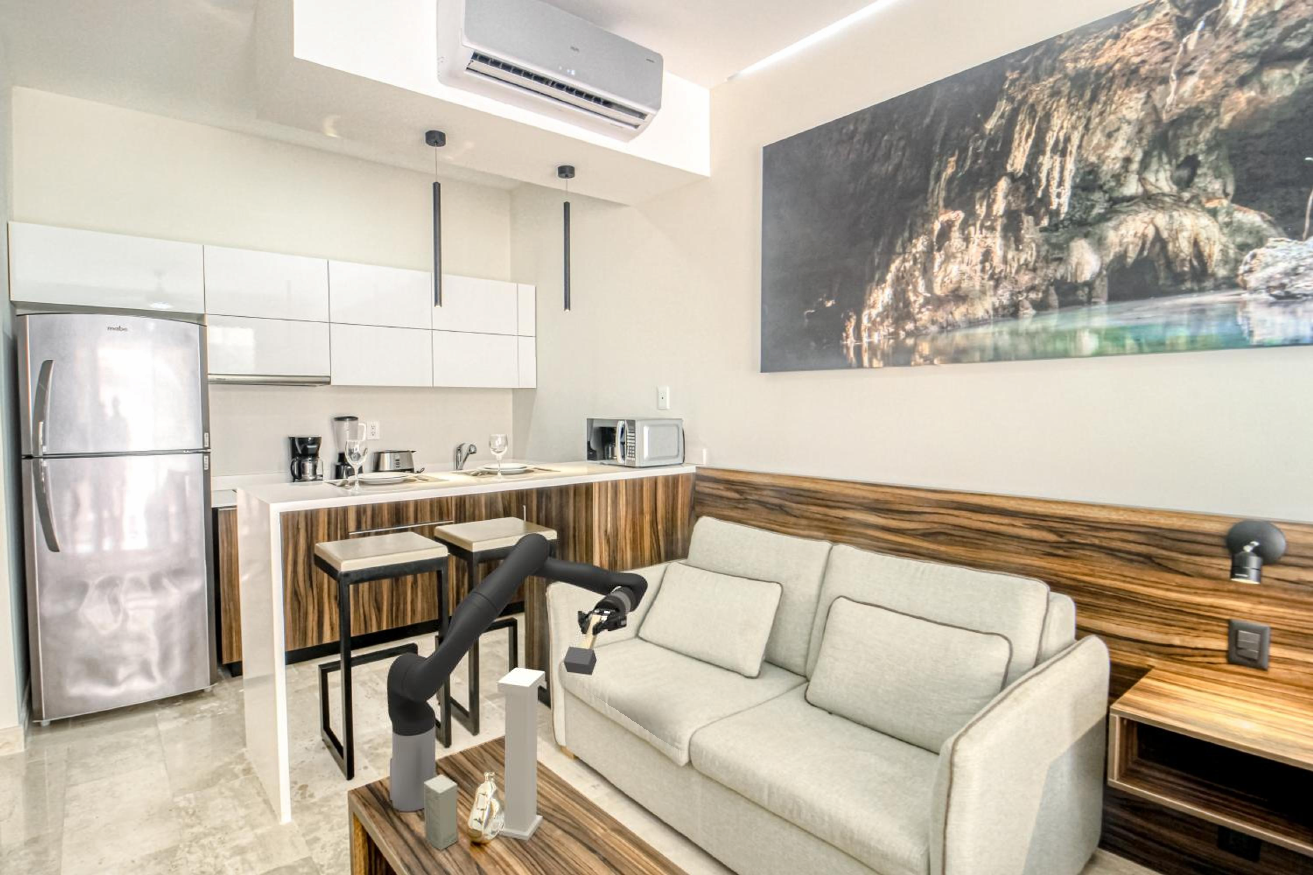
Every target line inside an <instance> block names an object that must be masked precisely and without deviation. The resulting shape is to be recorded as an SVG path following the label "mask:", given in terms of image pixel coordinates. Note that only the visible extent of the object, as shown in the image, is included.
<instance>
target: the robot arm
mask: <svg viewBox="0 0 1313 875" xmlns="http://www.w3.org/2000/svg"><path fill="white" fill-rule="evenodd" d="M550 550H551V546H550V542H549V541H548V538H547V537H546V536H545V535H543V534H542V533H541V534H540V533H537V532H532V533H528V534H525V535H522V537H520V538H519V539H518V540H517V541H516V543H515V544H514V545H513V547H512V548H511V549H510V550H509V553H508V555H507V556H506V557H505V559H504V560H503V561H502V562H501V563H500V564H499V565H498V566H497V567H496V568H495V569H494V570H493V571H492V572H491V573H489V574H488V575H487V576H486V577H485V578H484V579H482V581H480V582H479V583H478V584H477V585H476V586H474V588H472V590H470V592H468V594H467V595H466V596H465V597H464V598H463V599H462V601H460V602H459V603H458V604H457V606H456V607H455V609H454V611H453V613H452V616H451V619H450V622H449V627H448V631H447V634H446V636H445V637H444V639H443V641H442V642H441V643H440V644H439V645H438V647H437V648H436V649H435V650H434V651H433V652H432V653H431V654H430V655H428V656H427V657H425V656H422V655H419V654H416V653H414V652H406V653H403V654H401V655H398V657H396V658H395V660H394V661H393V662H392V663H391V665H390V667H389V669H388V674H387V679H386V694H387V697H386V698H387V711H388V712H387V713H388V718H389V720H390V721H391V726H392V727H391V730H392V731H391V736H392V739H391V743H392V745H391V746H392V748H391V749H392V751H391V752H392V754H391V755H392V757H391V758H390V760H389V800H390V801H391V803H392V806H393V808H394V809H395V810H397V811H401V812H415V811H420V810H421V809H424V782H426V781H428V780H430V779H432V778H434V777H436V712H435V709H434V708H433V707H432V706H431V704H429V702H428V701H429V700H430V699H431V698H433V697H434V696H435V695H436V694H437V693H438V692H439V691H440V690H441V689H442V687H443V686H444V684H445V683H446V681H447V680H448V679H449V678H450V676H451V674H452V673H453V672H454V670H455V668H456V667H457V666H458V665H459V663H460V662H461V660H462V659H463V658H464V657H465V656H466V654H468V652H469V651H470V649H471V648H472V646H474V644H475V643H476V642H477V641H478V639H479V638H480V637H481V636H482V635H483V634H484V633H485V632H486V631H487V630H488V629H489V628H490V626H491V625H492V624H493V623H494V622H495V621H496V620H497V618H498V617H499V616H500V614H501V613H502V612H503V610H505V608H506V607H507V606H508V604H509V603H510V601H511V600H512V598H513V597H514V595H515V594H516V593H517V591H518V590H519V588H520V587H521V586H522V585H523V583H524V582H525V581H526V579H527V578H529V577H530V576H531V577H537V578H543V579H547V580H551V581H554V582H555V581H556V582H560V583H564V584H568V585H572V586H575V587H578V588H581V589H583V590H586V591H590V592H592V593H595V594H597V595H600V596H604V597H603V598H602V599H600V600H598V602H597V603H596V604H595V605H594V607H593V609H592V610H589V611H588V613H586V612H583V610H578V611H577V623H578V626H579V628H580V632H581V634H582V635H586V633H587V631H588V628H589V625H590V622H591V620H592V617H593V614H594V615H601V617H602V618H601V620H600V622H597V623H596V624H595V625H594V626H593V628H592V635H594V636H596V635H597V634H598V635H599V634H600V633H602V632H605V631H606V630H607V632H614V631H617V630H620V629H624V628H627V625H628V624H627V623H628V614H629V613H633V612H635V611H636V610H637V609H638V607H639V606H640V604H641V602H642V599H643V598H644V596H645V593H646V592H647V590H648V588H649V583H648V581H647V579H646V578H645V577H644V576H643V575H641V574H638V573H634V572H624V571H623V572H622V571H613V570H609V569H606V568H603V567H601V566H598V565H595V564H592V563H589V562H580V561H568V560H563V559H557V558H554V557H551V556H549V555H550ZM598 635H597V636H598Z"/></svg>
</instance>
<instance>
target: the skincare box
mask: <svg viewBox="0 0 1313 875" xmlns="http://www.w3.org/2000/svg"><path fill="white" fill-rule="evenodd" d="M423 809H424V831H425V832H424V839H425V840H426V841H428V842H429V843H430V844H431V845H433V846H434V847H435V848H437V849H438V850H440V851H442V850H444V849H446V848H448V847H450V846H452V845H453V844H455V843H456V842H458V841H459V822H458V821H459V820H458V818H459V817H458V816H459V815H458V813H459V812H458V810H459V809H458V783H457V782H454V781H453V780H452V779H450V778H449V777H447V776H445V775H443V774H442V773H441V774H439V775H435V777H434V778H432V779H430V780H428V781H426V782H424V808H423Z"/></svg>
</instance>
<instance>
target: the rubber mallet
mask: <svg viewBox="0 0 1313 875" xmlns="http://www.w3.org/2000/svg"><path fill="white" fill-rule="evenodd" d="M601 618H602V617H601V615H594V614H593V617H592V620H591V622H590V625H589V628H588V631H587V633H586V634H585V635H584V639H583V642H582V644H581V647H576V646H568V649H567V651H566V654H565V656H564V659H563V661H562V662H563V664H564V667H565V671H566V672H567V673H573V674H580V675H586V676H592V675H593V672H594V670H595V667H596V664H597V661H598V660H597V656H596V653H595V649H593V648H594V645H595V643H596V641H597V637H598V636H599V634H597V635H596V636H594V635H592V628H593V626H594V625H595V624H596V623H597V622H600V620H601Z"/></svg>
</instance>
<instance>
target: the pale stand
mask: <svg viewBox="0 0 1313 875" xmlns="http://www.w3.org/2000/svg"><path fill="white" fill-rule="evenodd" d="M545 681H546V672H545V671H543V670H537V669H536V670H535V669H529V668H522V667H515V668H514V669H512V670H511V671H509V672H508V673H507V674H506V675H504V676H503V677H502V678H501V679H500V680H498V681H497V692H498V693H504V696H505V697H504V698H505V702H504V710H505V714H504V814H503V815H504V820H503V823H504V826H503V828H502V829H500V831H499V834H498V835H500V836H502V837H503V836H505V837H508V838H512V839H513V838H514V839H519V840H523V841H526V842H527V841H528V842H529V840H530V839H531V837H533V834H534V833H535V832H536V830H537V829H538V828H539V826H540V825H541V823H543V819H544V818H543V815H539V814H537V806H538V805H537V799H538V796H537V791H538V790H537V789H538V788H537V786H538V781H537V780H538V779H537V778H538V769H537V768H538V703H539V702H538V700H539V699H538V695H539V694H538V692H539V691H538V690H539V687H540V686H541V685H542V684H543V683H544V682H545Z"/></svg>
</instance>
